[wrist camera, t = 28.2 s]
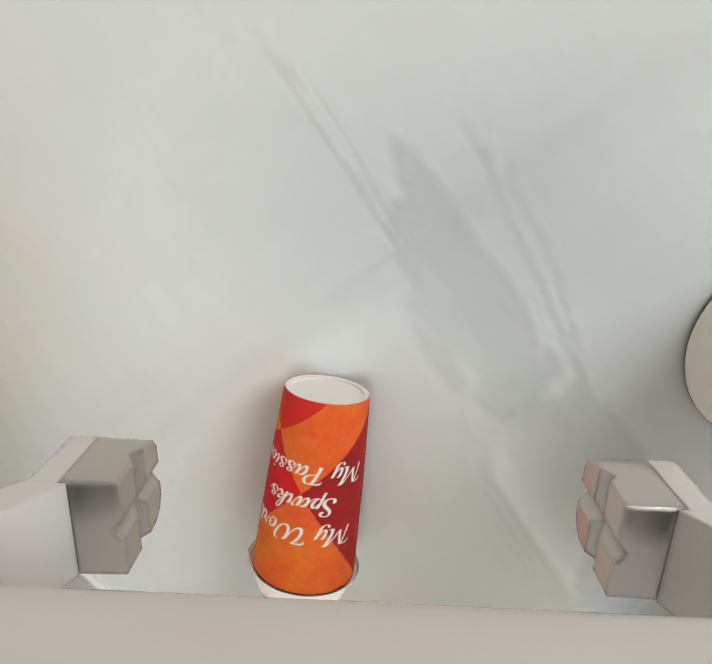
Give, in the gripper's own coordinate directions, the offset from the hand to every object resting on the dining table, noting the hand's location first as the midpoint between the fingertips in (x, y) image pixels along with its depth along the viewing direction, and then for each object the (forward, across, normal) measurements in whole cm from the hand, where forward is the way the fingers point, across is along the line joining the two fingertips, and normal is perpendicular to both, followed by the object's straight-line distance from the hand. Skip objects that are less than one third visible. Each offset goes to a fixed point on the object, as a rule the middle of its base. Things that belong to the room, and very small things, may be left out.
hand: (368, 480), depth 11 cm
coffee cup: (+28, +3, +11) cm, 30 cm away
